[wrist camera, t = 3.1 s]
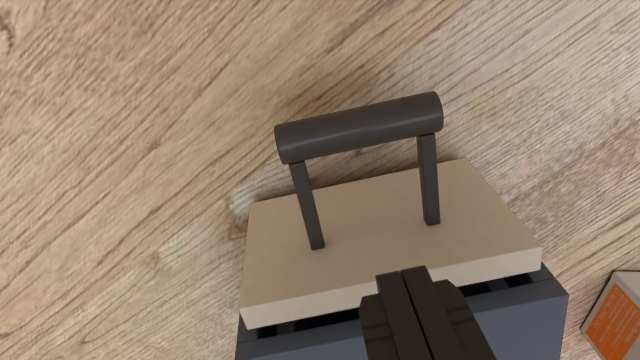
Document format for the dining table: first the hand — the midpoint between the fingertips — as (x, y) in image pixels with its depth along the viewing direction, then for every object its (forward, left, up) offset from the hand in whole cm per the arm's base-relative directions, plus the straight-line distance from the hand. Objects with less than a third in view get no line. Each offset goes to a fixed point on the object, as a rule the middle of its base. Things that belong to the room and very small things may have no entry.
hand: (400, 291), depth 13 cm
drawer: (+6, 0, -10) cm, 11 cm away
